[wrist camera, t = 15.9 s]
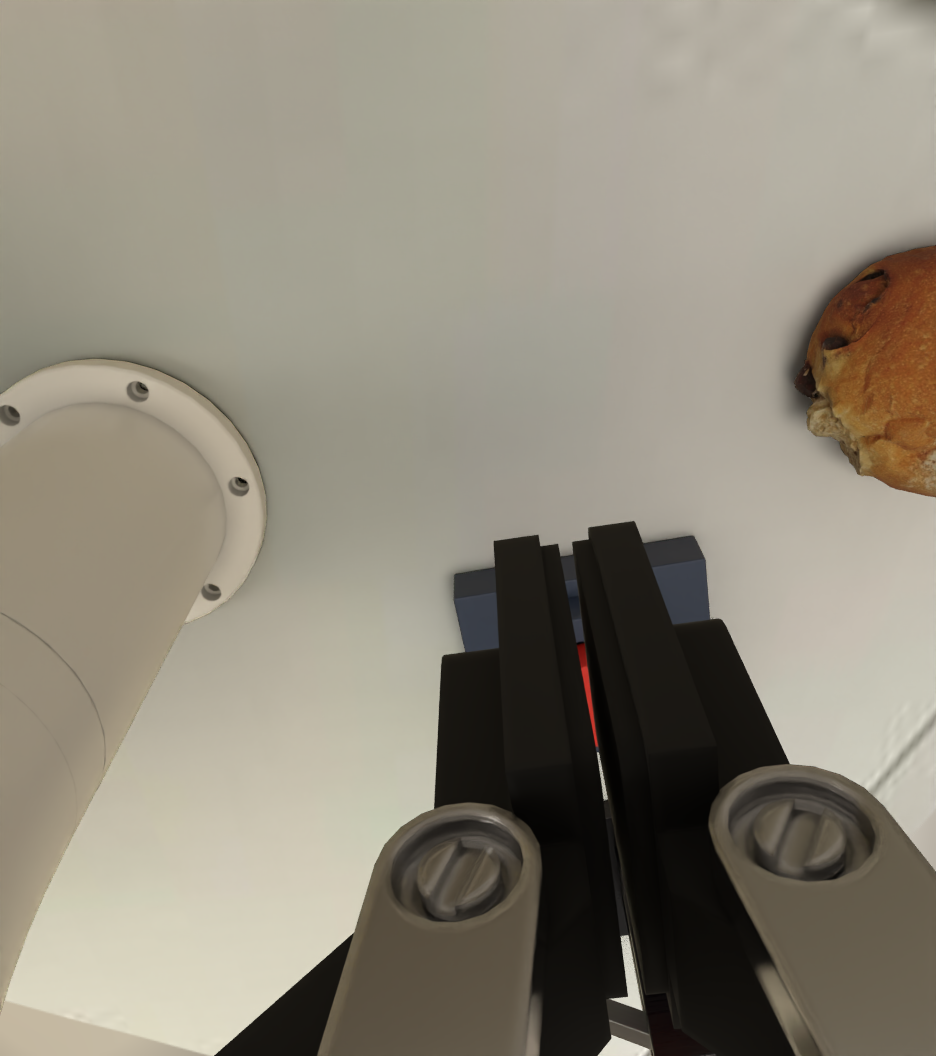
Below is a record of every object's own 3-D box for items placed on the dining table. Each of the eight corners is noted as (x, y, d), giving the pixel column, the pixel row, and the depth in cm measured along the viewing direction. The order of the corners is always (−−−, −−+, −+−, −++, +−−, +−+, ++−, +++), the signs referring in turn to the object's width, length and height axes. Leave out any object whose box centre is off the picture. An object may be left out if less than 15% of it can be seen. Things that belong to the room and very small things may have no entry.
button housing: (488, 726, 45) (489, 782, 42) (454, 574, 41) (452, 621, 38) (707, 694, 44) (728, 748, 41) (693, 535, 40) (716, 579, 37)
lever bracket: (567, 925, 52) (595, 1166, 40) (544, 809, 48) (568, 1040, 36) (760, 900, 51) (844, 1139, 39) (753, 780, 47) (845, 1007, 35)
